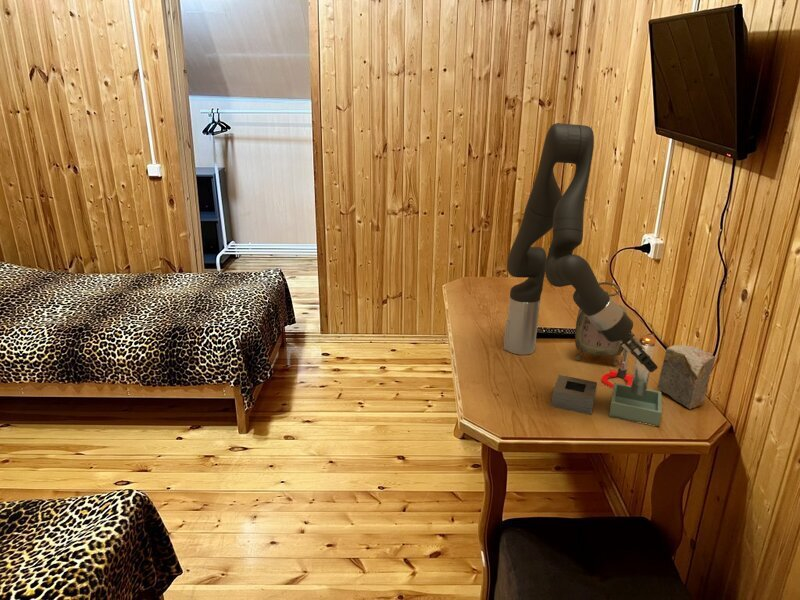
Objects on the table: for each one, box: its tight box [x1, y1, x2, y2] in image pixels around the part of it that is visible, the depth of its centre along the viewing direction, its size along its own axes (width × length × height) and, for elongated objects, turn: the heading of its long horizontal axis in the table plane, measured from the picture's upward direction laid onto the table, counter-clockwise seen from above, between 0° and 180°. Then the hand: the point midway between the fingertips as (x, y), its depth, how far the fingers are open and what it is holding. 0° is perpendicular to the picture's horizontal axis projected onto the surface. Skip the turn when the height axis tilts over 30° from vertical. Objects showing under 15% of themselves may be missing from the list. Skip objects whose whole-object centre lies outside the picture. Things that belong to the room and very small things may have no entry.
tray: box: [608, 382, 663, 427], centre depth 147 cm, size 12×12×4 cm
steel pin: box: [630, 334, 657, 396], centre depth 143 cm, size 4×4×15 cm
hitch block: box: [550, 374, 598, 416], centre depth 150 cm, size 10×10×4 cm
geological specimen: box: [657, 344, 716, 410], centre depth 151 cm, size 11×6×15 cm, turn 24°
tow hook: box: [601, 349, 633, 389], centre depth 160 cm, size 8×13×9 cm
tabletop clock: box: [574, 281, 628, 367], centre depth 172 cm, size 14×9×25 cm, turn 72°
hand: (650, 365), depth 143 cm, fingers closed on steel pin, 3 cm apart
